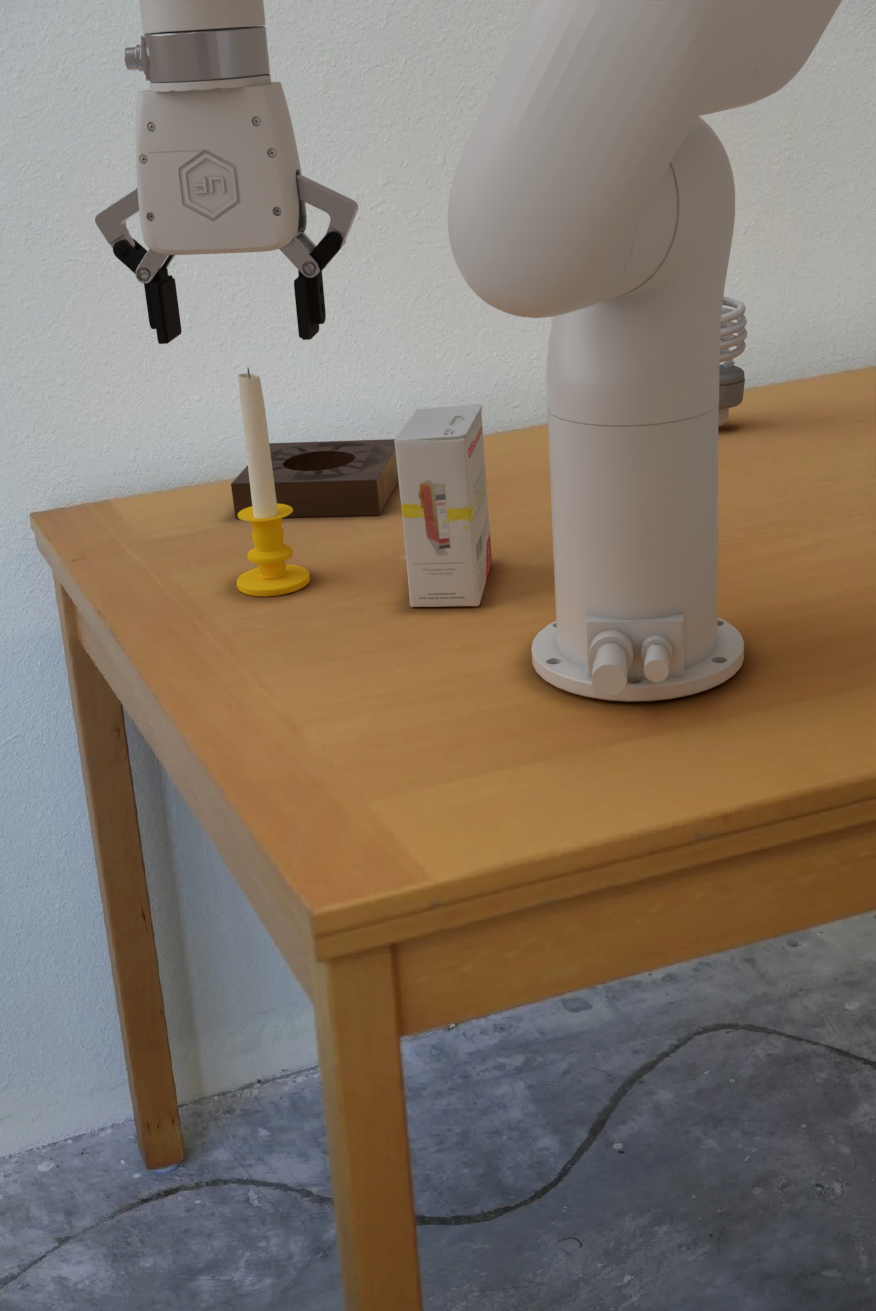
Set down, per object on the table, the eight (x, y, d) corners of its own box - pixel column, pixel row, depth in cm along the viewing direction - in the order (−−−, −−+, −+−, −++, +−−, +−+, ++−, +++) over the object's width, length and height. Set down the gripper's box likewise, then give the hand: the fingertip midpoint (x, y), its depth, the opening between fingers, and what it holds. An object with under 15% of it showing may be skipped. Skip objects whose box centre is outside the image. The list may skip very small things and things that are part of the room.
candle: (315, 569, 108) (291, 356, 101) (304, 595, 103) (278, 373, 97) (245, 572, 108) (217, 360, 102) (230, 598, 103) (200, 378, 97)
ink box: (427, 564, 107) (414, 404, 102) (494, 563, 106) (484, 401, 101) (406, 609, 99) (391, 437, 94) (479, 608, 98) (467, 435, 94)
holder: (379, 515, 118) (376, 479, 117) (235, 518, 120) (230, 483, 119) (404, 472, 129) (401, 438, 128) (271, 475, 131) (267, 443, 130)
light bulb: (711, 417, 138) (711, 287, 134) (758, 426, 134) (761, 293, 130) (670, 430, 135) (669, 297, 131) (717, 440, 131) (718, 303, 126)
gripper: (53, 73, 90) (96, 353, 97) (332, 57, 87) (355, 346, 94) (97, 67, 97) (134, 329, 103) (356, 52, 94) (376, 322, 101)
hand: (239, 337), depth 99 cm, fingers open, 9 cm apart
